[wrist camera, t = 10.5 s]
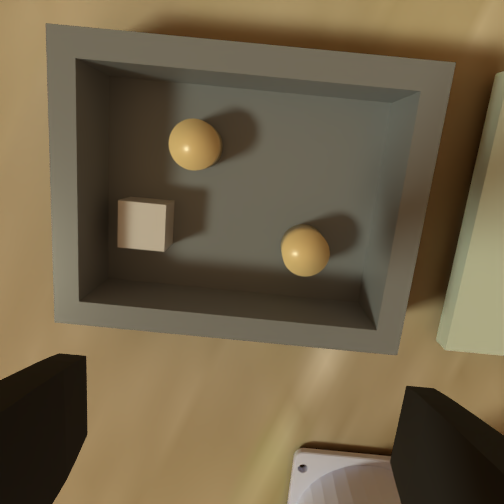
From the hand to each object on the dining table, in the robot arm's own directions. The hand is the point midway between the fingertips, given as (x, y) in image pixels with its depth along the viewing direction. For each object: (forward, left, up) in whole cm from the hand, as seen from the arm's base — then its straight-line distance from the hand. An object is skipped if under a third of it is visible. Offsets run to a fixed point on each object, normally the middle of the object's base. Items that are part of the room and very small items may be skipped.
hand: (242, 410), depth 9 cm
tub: (+4, +1, -10) cm, 11 cm away
